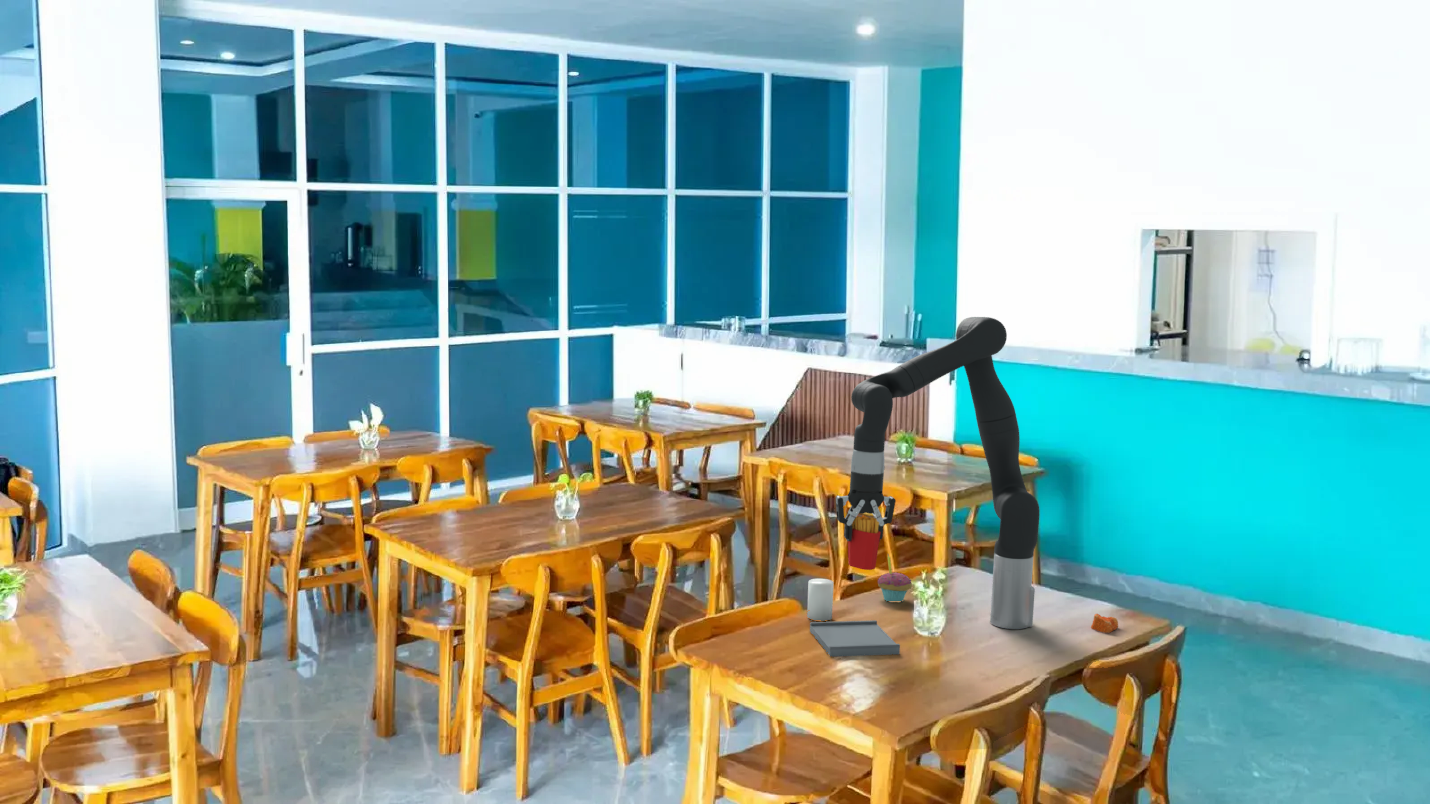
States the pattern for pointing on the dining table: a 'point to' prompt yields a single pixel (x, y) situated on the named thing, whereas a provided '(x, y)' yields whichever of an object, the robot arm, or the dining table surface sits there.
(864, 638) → the slate board
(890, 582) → the cupcake
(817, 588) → the white rounded cylinder
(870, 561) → the french fries
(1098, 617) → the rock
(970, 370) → the robot arm
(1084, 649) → the dining table surface
